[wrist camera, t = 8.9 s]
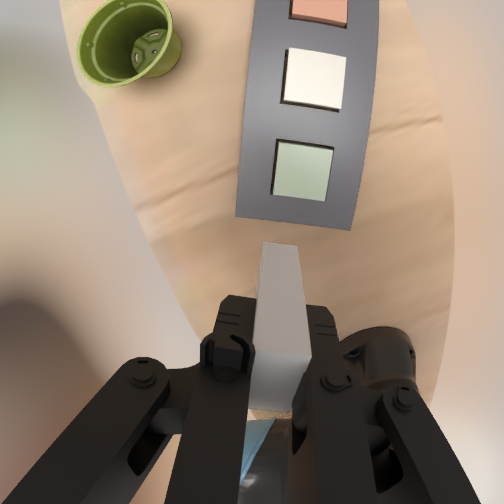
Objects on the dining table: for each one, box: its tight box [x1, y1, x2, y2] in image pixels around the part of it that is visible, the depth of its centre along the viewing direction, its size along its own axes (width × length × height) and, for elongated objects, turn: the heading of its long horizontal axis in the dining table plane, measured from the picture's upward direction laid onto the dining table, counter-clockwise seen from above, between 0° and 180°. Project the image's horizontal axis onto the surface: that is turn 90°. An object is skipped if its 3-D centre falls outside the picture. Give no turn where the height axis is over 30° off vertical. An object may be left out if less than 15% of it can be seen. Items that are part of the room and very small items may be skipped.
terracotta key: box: [291, 0, 348, 28], centre depth 19 cm, size 5×5×3 cm
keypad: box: [235, 0, 379, 231], centre depth 24 cm, size 29×12×3 cm, turn 175°
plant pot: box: [77, 0, 182, 87], centre depth 21 cm, size 9×9×9 cm
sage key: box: [273, 140, 333, 201], centre depth 27 cm, size 5×5×3 cm
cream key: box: [283, 48, 346, 109], centre depth 22 cm, size 5×5×3 cm
